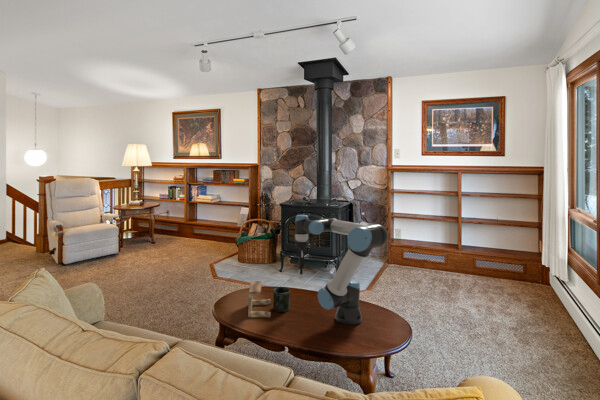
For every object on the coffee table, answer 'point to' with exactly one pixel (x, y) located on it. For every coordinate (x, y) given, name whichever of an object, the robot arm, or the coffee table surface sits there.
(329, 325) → the coffee table surface
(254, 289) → the wooden u-frame
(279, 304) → the mug
